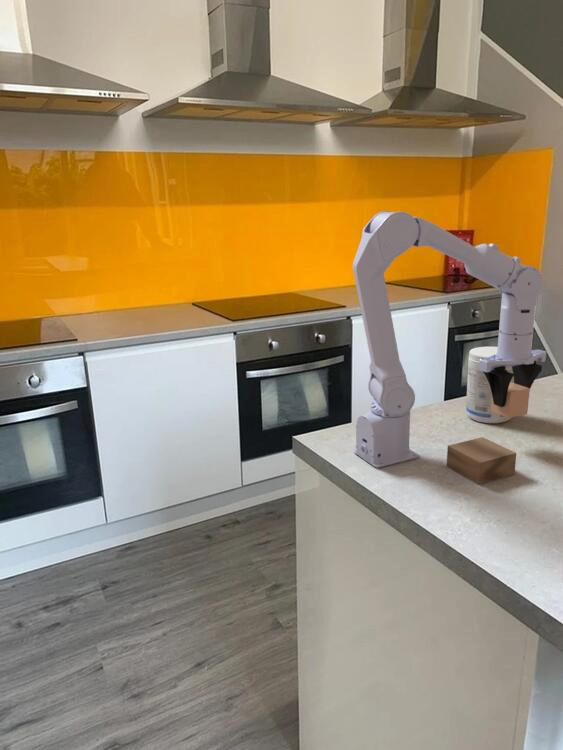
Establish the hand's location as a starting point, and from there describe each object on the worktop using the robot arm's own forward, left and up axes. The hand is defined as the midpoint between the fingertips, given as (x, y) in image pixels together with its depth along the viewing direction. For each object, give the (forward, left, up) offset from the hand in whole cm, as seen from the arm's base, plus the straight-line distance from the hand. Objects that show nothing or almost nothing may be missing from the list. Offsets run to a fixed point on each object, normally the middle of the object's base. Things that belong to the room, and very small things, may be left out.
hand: (509, 403), depth 109 cm
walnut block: (-11, -6, -9) cm, 15 cm away
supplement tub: (+9, +13, -9) cm, 18 cm away
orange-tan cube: (0, 0, -2) cm, 2 cm away
